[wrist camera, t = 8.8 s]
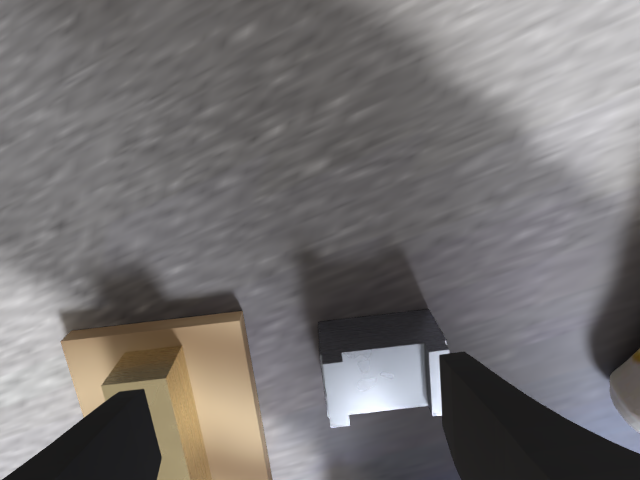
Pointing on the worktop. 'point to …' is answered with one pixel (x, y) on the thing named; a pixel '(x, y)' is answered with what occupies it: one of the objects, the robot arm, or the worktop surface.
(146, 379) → the rail
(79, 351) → the board
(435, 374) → the post
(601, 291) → the worktop surface
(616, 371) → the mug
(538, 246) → the worktop surface
